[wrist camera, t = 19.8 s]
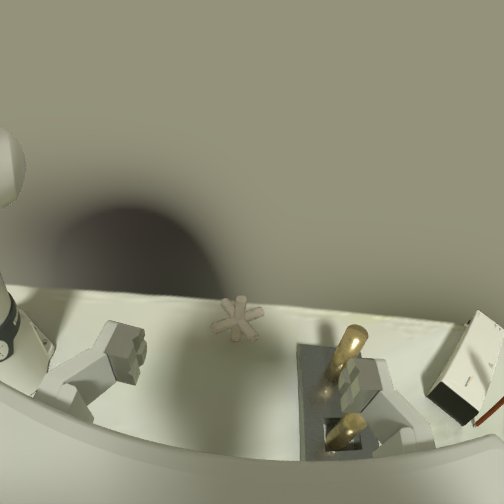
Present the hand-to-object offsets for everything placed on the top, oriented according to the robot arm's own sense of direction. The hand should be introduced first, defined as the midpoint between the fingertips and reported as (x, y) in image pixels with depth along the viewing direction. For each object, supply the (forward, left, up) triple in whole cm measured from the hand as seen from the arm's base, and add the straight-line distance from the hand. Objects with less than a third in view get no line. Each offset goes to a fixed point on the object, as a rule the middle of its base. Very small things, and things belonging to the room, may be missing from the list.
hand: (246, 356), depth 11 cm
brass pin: (+8, +19, -34) cm, 40 cm away
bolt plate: (+5, +24, -34) cm, 42 cm away
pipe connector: (-17, +25, -34) cm, 46 cm away
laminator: (+29, +52, -35) cm, 69 cm away
